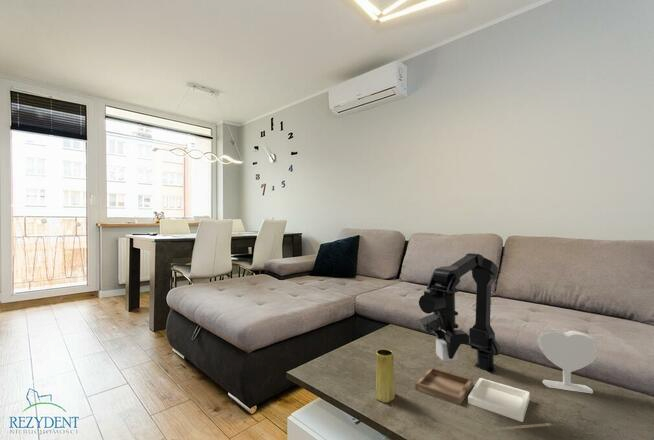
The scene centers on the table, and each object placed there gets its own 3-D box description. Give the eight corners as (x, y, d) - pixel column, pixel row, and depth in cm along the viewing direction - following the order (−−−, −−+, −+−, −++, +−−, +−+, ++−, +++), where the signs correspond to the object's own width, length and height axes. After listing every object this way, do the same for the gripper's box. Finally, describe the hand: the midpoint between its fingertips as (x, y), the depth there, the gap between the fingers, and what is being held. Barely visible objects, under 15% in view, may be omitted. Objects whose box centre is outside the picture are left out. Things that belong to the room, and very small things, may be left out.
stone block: (436, 354, 103) (435, 339, 103) (450, 353, 103) (450, 338, 103) (442, 361, 98) (442, 345, 98) (457, 360, 98) (457, 344, 98)
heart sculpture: (592, 386, 101) (591, 331, 101) (600, 394, 96) (599, 337, 96) (537, 378, 106) (536, 326, 106) (541, 386, 101) (540, 331, 101)
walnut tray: (431, 373, 111) (431, 366, 111) (473, 386, 102) (472, 379, 102) (415, 391, 100) (415, 383, 100) (460, 407, 91) (460, 398, 91)
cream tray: (479, 385, 103) (479, 377, 103) (529, 400, 94) (529, 392, 94) (468, 405, 92) (467, 396, 92) (522, 424, 83) (522, 415, 83)
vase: (395, 403, 93) (394, 357, 93) (375, 401, 94) (374, 355, 94) (395, 392, 99) (394, 348, 99) (376, 391, 100) (375, 347, 100)
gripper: (411, 300, 109) (412, 344, 109) (434, 317, 90) (435, 370, 90) (441, 299, 110) (442, 342, 110) (470, 315, 91) (471, 368, 91)
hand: (446, 354), depth 100 cm, fingers closed on stone block, 5 cm apart
